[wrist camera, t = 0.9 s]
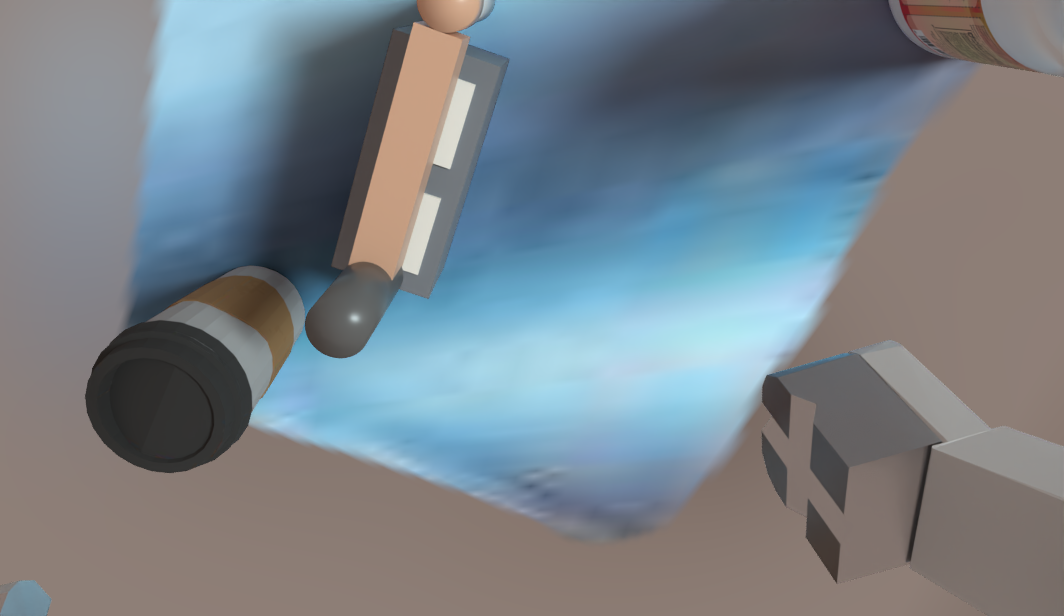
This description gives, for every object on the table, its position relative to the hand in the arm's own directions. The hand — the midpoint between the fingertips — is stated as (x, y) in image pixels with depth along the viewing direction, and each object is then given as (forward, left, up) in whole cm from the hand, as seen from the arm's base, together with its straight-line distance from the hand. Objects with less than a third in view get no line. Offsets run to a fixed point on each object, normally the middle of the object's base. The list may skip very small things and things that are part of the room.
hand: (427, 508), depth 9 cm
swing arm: (+4, -6, -35) cm, 36 cm away
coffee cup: (+20, -14, -43) cm, 50 cm away
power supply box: (+4, -6, -43) cm, 44 cm away
